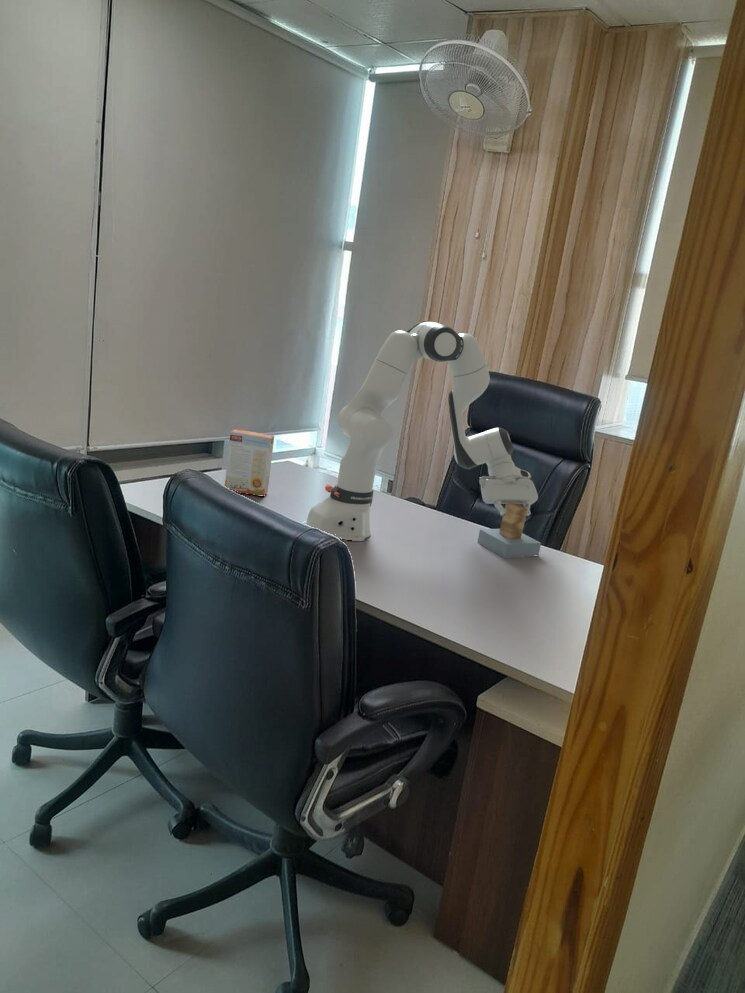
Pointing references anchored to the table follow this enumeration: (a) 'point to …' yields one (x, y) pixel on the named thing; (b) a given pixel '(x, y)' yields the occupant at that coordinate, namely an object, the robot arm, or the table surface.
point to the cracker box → (249, 462)
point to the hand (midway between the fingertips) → (516, 514)
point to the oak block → (513, 521)
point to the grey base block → (508, 544)
